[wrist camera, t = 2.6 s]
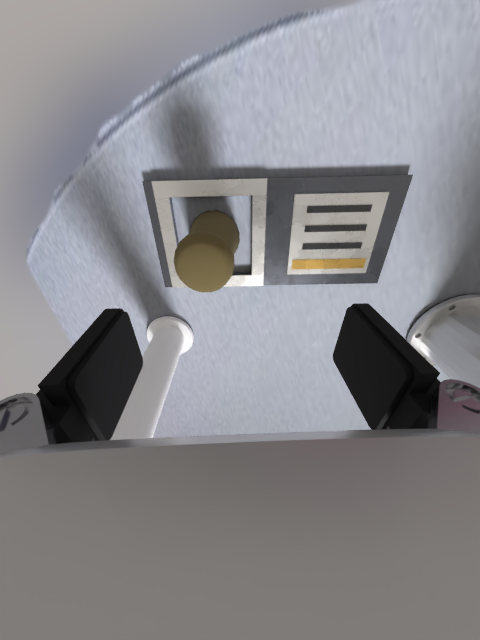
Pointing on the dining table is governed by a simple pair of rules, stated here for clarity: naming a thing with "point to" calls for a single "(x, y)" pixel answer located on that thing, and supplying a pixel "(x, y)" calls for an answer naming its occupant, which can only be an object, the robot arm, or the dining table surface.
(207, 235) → the cork
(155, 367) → the candle
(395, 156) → the dining table surface
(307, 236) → the panel
